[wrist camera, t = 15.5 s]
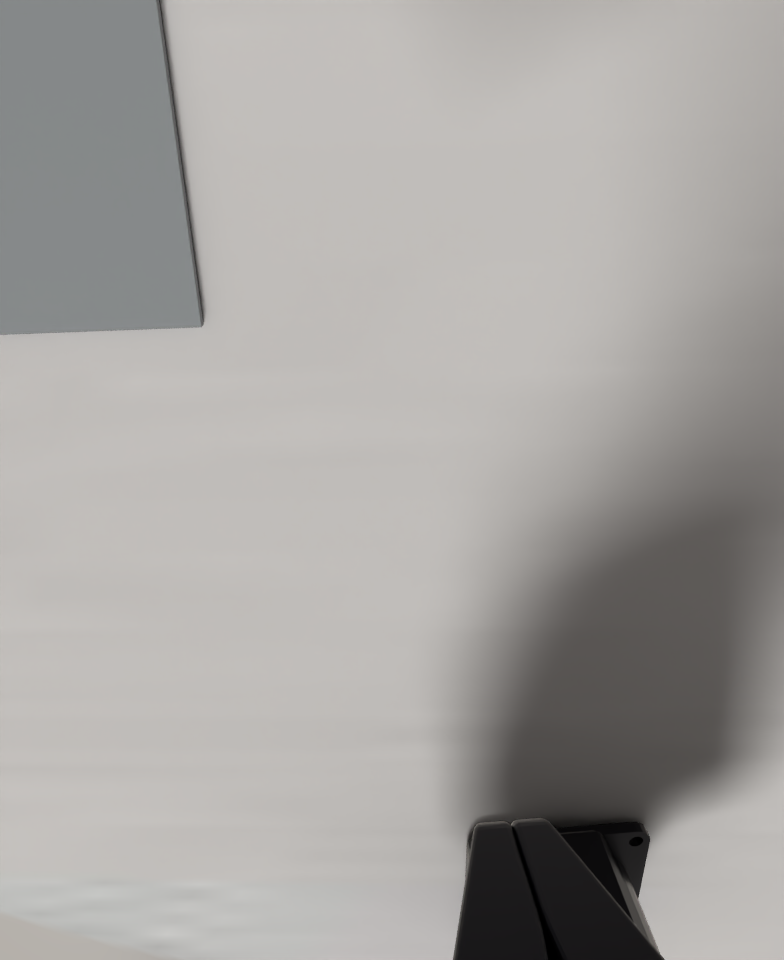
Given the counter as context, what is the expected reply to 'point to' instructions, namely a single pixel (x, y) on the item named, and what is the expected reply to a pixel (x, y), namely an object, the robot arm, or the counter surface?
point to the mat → (90, 172)
